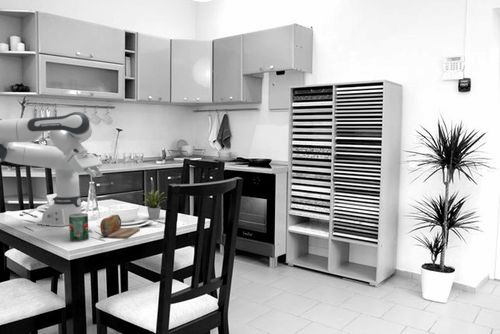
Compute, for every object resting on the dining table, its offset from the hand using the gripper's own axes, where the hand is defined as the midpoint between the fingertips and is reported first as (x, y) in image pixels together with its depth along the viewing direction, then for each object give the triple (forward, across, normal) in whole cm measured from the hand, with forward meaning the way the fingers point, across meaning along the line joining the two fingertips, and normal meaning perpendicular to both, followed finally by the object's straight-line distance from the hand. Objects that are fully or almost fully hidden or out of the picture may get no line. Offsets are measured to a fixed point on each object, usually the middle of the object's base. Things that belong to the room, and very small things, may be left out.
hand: (98, 175), depth 202 cm
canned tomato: (+16, +11, -23) cm, 30 cm away
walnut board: (+28, 0, -11) cm, 30 cm away
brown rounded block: (+23, 0, -16) cm, 28 cm away
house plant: (+29, -34, -10) cm, 45 cm away
